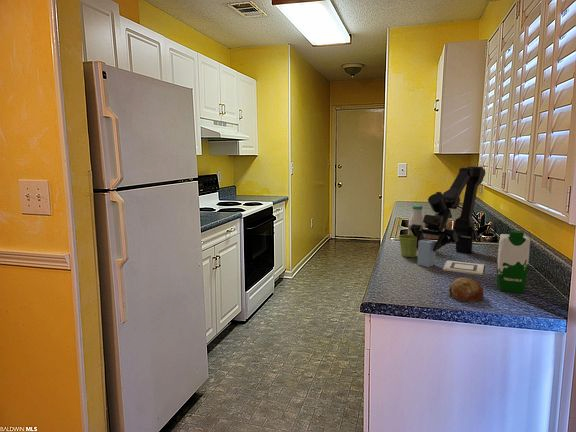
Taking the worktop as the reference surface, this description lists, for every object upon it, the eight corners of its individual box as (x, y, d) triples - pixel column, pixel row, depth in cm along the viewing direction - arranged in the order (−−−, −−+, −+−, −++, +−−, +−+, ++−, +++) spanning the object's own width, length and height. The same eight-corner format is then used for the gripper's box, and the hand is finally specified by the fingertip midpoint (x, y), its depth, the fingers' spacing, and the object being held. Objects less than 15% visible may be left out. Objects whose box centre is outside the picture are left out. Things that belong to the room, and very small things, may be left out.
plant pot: (412, 259, 176) (413, 239, 175) (393, 255, 183) (394, 236, 182) (423, 256, 182) (424, 236, 181) (405, 252, 189) (406, 233, 188)
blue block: (423, 262, 171) (424, 239, 170) (434, 265, 168) (436, 241, 166) (417, 264, 168) (418, 240, 166) (428, 267, 164) (430, 242, 163)
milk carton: (497, 291, 136) (502, 232, 132) (493, 283, 144) (498, 227, 141) (528, 294, 133) (533, 233, 130) (522, 286, 141) (527, 228, 138)
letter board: (484, 265, 166) (484, 264, 166) (482, 275, 154) (482, 273, 154) (447, 261, 172) (447, 260, 172) (442, 270, 160) (442, 268, 160)
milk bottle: (421, 244, 204) (423, 204, 201) (425, 248, 196) (427, 206, 193) (405, 244, 205) (407, 204, 201) (408, 248, 197) (410, 206, 194)
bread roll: (447, 302, 136) (439, 281, 135) (475, 288, 136) (467, 267, 135) (463, 313, 127) (453, 291, 125) (492, 299, 127) (483, 276, 125)
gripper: (413, 205, 174) (397, 234, 168) (456, 209, 160) (441, 241, 154) (422, 221, 180) (407, 250, 174) (464, 227, 167) (449, 258, 161)
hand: (425, 249), depth 166 cm, fingers open, 7 cm apart
